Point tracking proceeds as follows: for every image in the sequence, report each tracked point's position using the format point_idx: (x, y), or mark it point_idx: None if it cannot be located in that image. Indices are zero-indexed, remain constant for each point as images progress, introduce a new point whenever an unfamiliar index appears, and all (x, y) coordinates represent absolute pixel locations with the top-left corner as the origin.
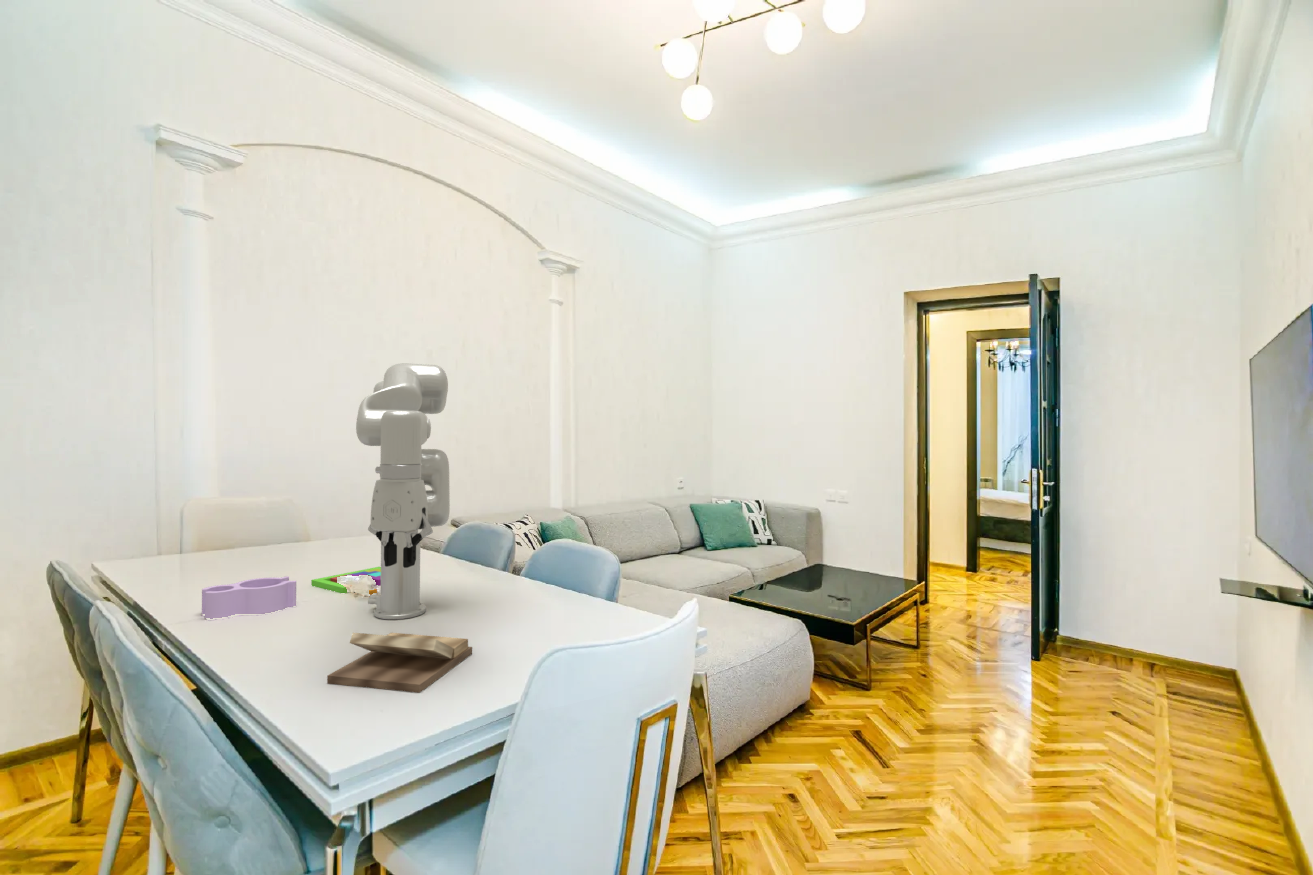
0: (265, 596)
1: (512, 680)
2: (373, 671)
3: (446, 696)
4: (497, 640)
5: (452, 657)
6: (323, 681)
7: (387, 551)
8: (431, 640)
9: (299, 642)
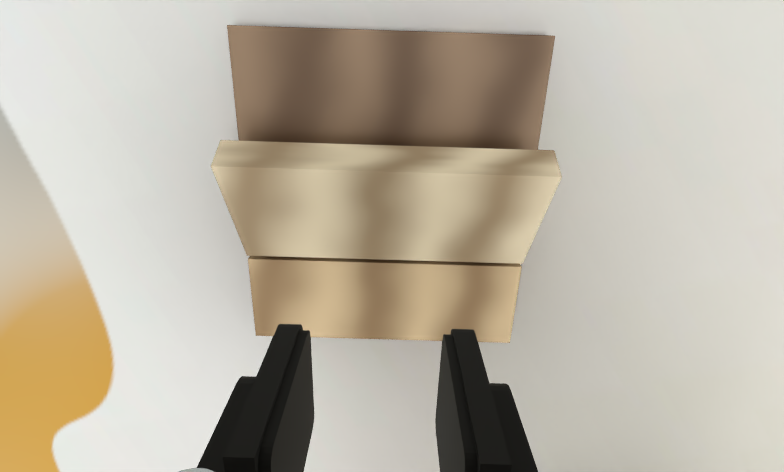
0: None
1: (44, 169)
2: (429, 99)
3: (145, 18)
4: None
5: None
6: (567, 51)
7: (470, 423)
8: (231, 163)
9: (780, 311)
